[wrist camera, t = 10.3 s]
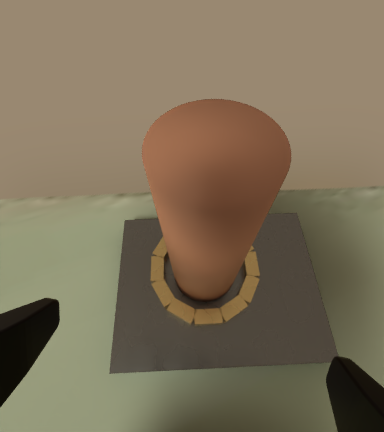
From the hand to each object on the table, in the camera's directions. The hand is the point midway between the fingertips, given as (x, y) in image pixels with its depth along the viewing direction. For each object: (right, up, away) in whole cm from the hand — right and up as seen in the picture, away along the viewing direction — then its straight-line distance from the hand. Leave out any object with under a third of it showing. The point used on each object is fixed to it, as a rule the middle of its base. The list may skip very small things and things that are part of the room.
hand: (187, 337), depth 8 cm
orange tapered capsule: (+1, -1, +13) cm, 13 cm away
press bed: (+2, -2, +14) cm, 14 cm away
